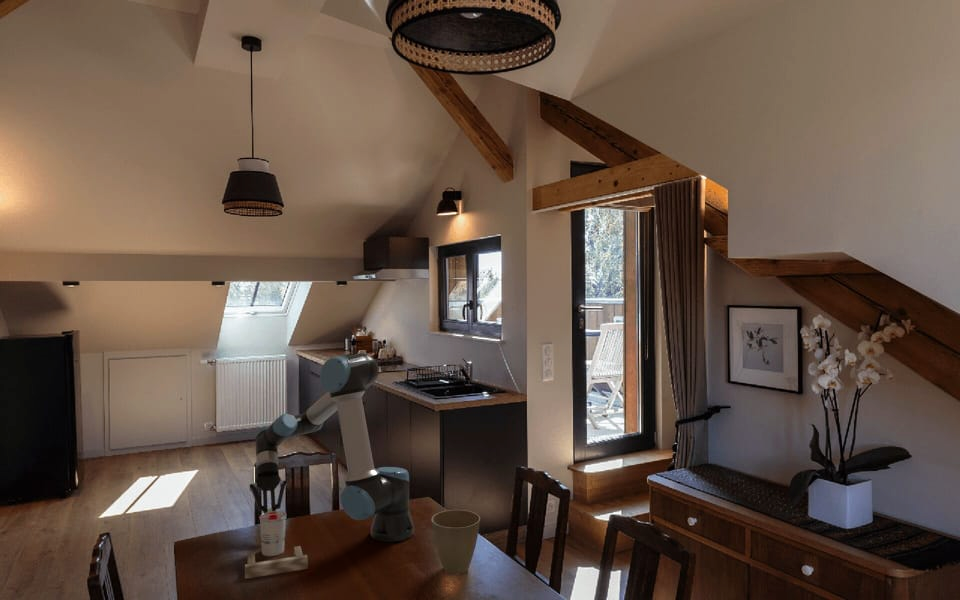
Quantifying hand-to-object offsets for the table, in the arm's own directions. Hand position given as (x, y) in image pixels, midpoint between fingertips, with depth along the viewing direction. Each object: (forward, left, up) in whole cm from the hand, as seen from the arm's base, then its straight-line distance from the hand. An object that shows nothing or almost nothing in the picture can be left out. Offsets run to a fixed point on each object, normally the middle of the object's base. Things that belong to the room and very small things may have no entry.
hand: (270, 528), depth 209 cm
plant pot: (-51, +43, -5) cm, 67 cm away
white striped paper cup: (0, +8, -5) cm, 10 cm away
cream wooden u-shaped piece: (0, +19, -5) cm, 20 cm away
